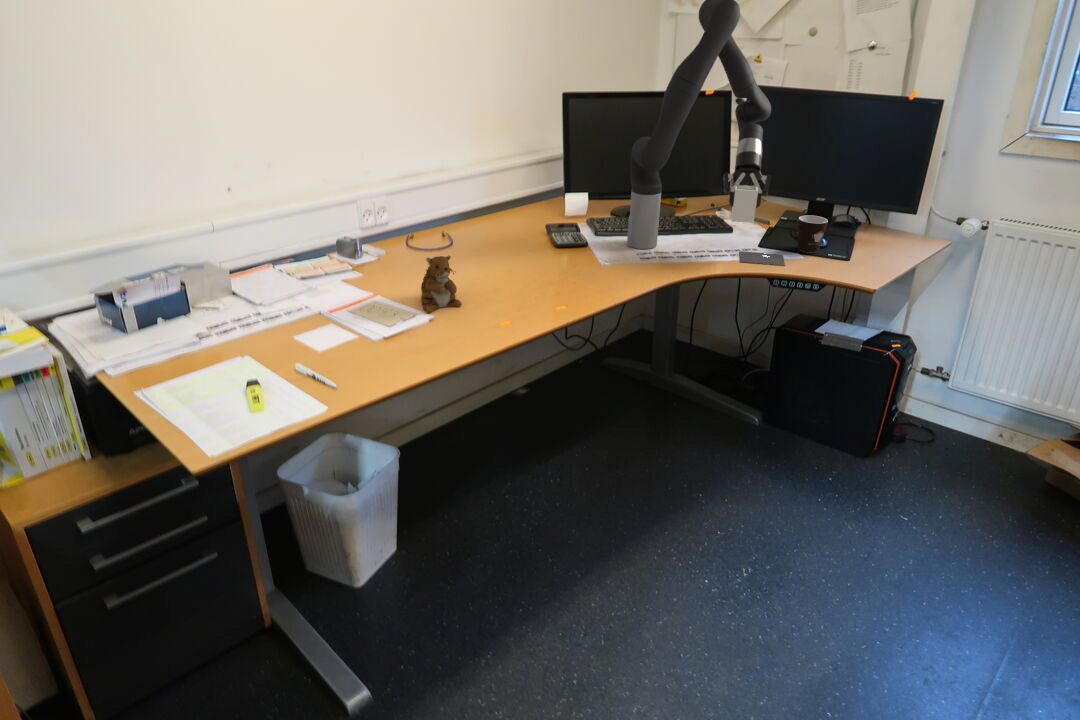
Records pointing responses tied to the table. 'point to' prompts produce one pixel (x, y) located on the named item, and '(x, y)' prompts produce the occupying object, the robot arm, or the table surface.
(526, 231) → the table surface
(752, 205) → the canister
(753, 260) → the mat
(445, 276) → the brown plush animal
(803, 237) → the coffee mug
